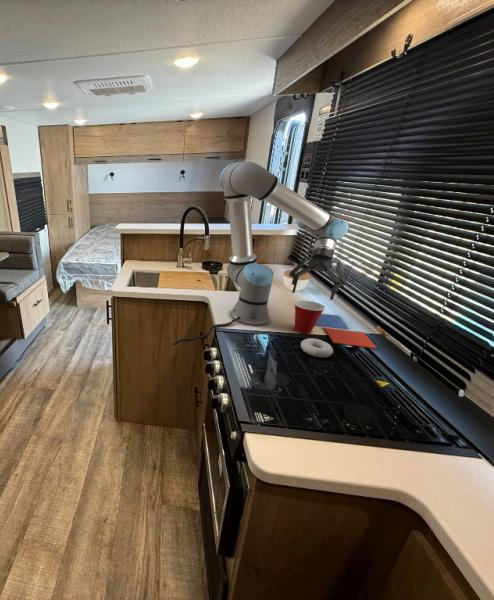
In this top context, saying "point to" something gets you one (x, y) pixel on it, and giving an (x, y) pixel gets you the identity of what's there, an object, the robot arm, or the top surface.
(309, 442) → the top surface
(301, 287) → the white bowl with cork
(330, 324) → the blue mat
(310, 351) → the donut
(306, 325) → the plastic cup
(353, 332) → the red mat
